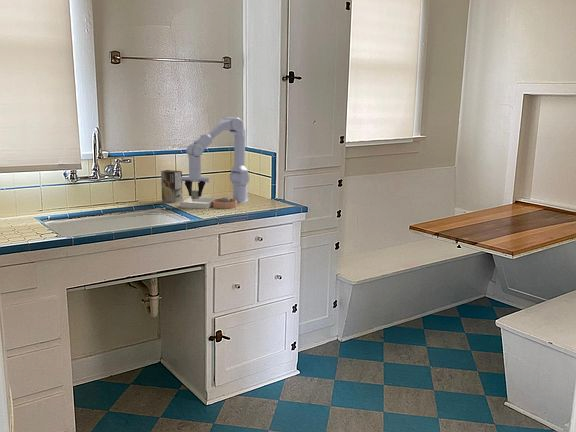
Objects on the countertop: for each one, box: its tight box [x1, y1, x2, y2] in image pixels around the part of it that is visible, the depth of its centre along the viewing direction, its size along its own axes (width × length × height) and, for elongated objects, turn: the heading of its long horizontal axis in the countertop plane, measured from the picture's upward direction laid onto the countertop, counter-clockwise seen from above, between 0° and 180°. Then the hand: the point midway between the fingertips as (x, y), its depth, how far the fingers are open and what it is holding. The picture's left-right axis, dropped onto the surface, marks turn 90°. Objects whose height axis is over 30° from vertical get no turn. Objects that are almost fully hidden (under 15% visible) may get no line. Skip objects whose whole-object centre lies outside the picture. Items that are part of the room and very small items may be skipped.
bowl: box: [211, 197, 238, 210], centre depth 304 cm, size 12×12×4 cm
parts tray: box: [179, 196, 219, 210], centre depth 307 cm, size 18×14×3 cm
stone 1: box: [190, 189, 200, 199], centre depth 302 cm, size 4×4×4 cm
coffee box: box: [160, 169, 184, 203], centre depth 314 cm, size 9×6×16 cm
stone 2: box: [221, 197, 231, 203], centre depth 306 cm, size 4×4×4 cm
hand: (195, 196), depth 302 cm, fingers closed on stone 1, 4 cm apart
